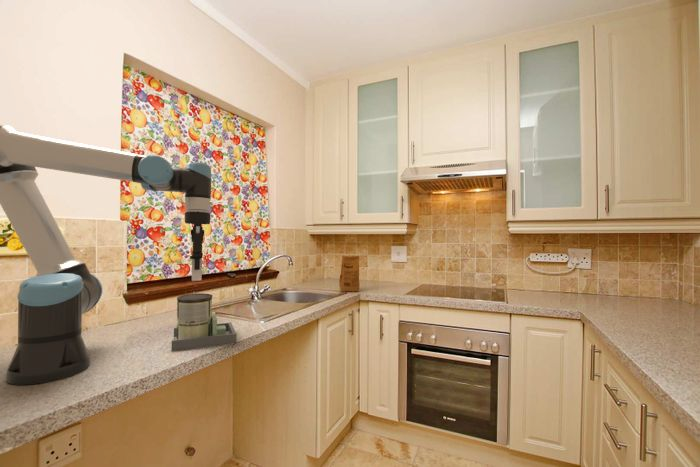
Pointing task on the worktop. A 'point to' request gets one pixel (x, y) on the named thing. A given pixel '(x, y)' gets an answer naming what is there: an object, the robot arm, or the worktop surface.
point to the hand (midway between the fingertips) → (196, 277)
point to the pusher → (217, 329)
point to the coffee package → (349, 274)
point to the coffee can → (194, 315)
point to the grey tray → (205, 339)
